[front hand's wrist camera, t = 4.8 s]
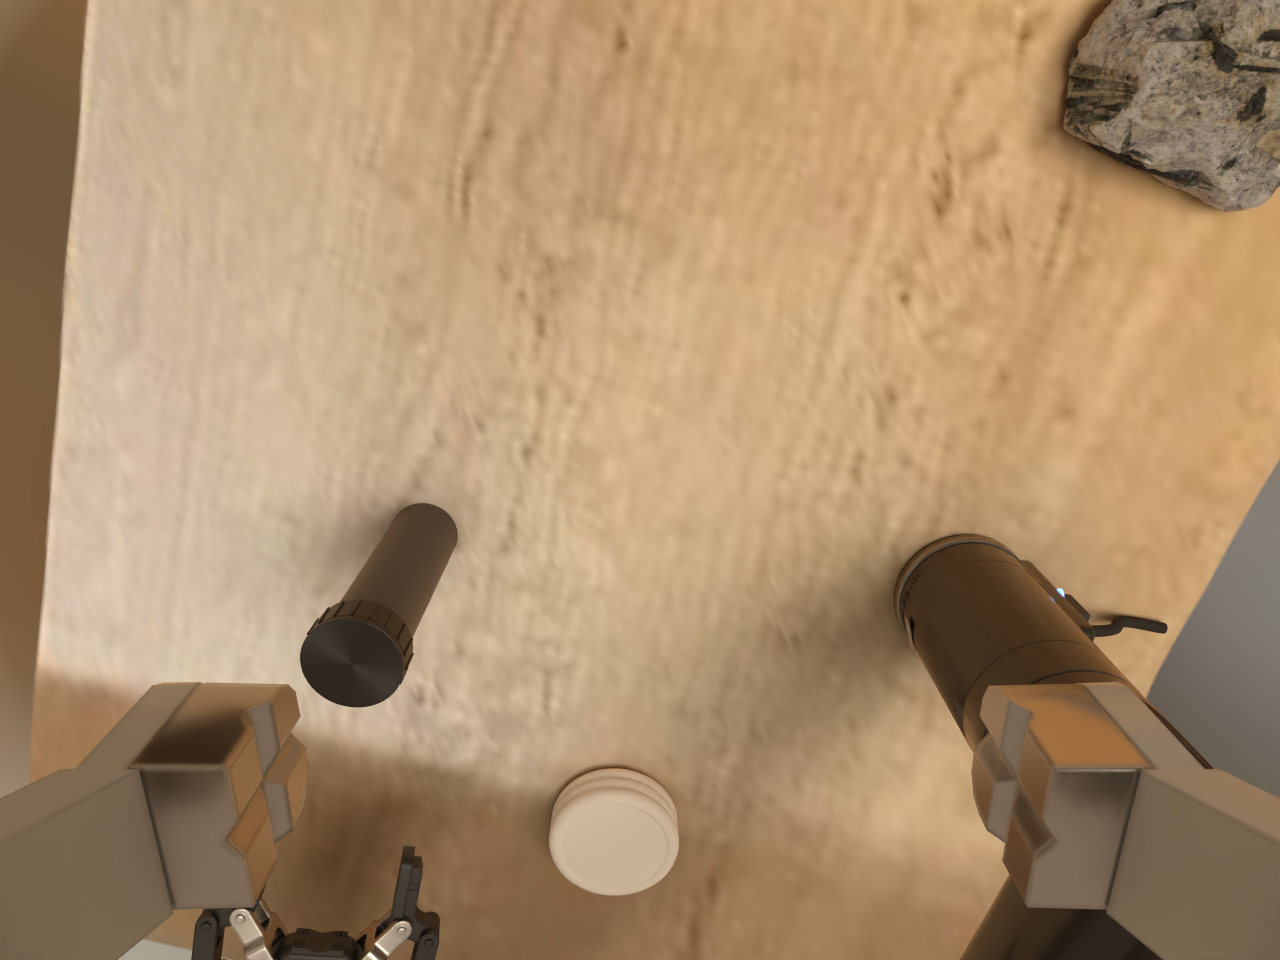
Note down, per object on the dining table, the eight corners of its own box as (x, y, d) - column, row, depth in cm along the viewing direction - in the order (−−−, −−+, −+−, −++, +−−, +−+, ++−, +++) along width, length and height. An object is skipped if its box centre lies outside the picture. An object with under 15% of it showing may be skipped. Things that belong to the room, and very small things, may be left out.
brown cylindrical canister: (397, 497, 61) (315, 613, 46) (462, 511, 61) (403, 631, 46) (388, 554, 63) (306, 686, 47) (451, 568, 63) (390, 703, 48)
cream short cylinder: (700, 833, 71) (702, 867, 68) (594, 882, 73) (592, 917, 69) (636, 745, 68) (636, 775, 65) (528, 798, 70) (522, 830, 66)
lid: (318, 588, 47) (304, 608, 45) (421, 609, 48) (411, 630, 45) (307, 673, 49) (293, 696, 47) (407, 693, 49) (396, 717, 47)
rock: (1031, 128, 52) (1091, 127, 46) (1124, -56, 49) (1203, -86, 42) (1237, 221, 55) (1323, 233, 48) (1339, 51, 51) (1446, 38, 45)
